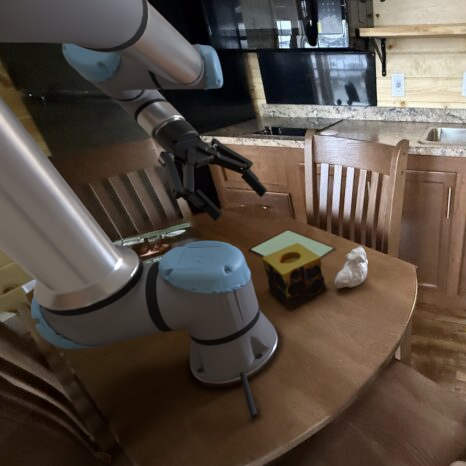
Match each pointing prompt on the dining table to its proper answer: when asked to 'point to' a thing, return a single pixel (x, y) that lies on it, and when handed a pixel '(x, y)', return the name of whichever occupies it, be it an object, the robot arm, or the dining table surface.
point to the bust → (353, 269)
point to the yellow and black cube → (294, 274)
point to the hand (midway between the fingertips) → (243, 204)
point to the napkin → (288, 240)
